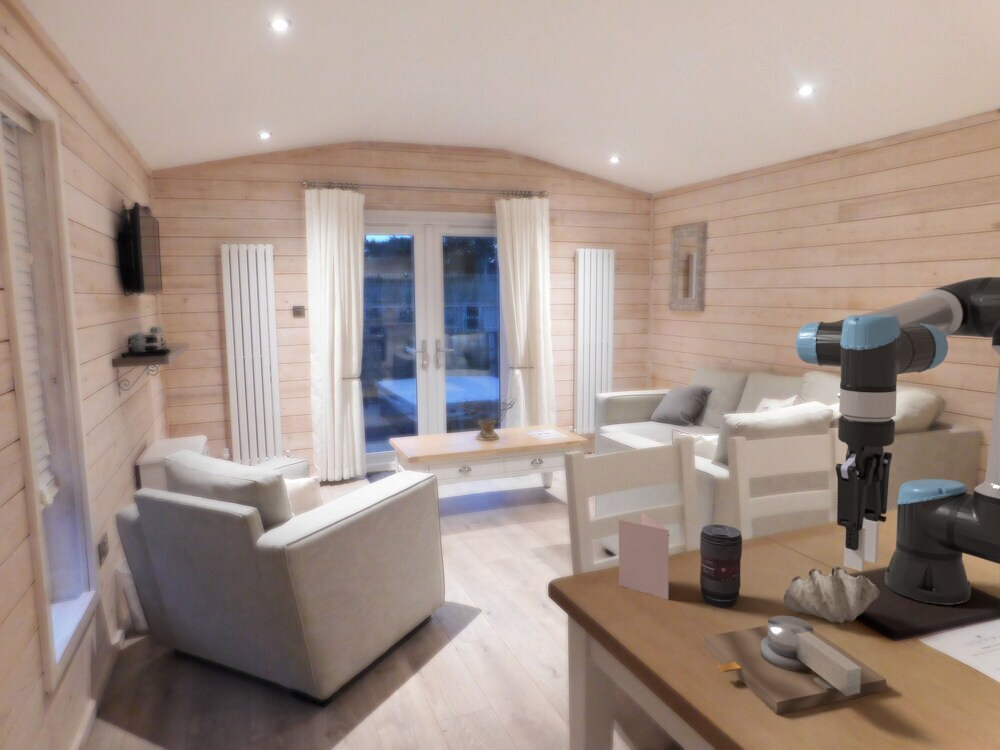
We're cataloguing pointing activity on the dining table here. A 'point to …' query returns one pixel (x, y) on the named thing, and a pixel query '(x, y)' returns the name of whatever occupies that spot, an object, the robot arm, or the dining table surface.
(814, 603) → the seashell
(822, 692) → the mount
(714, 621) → the dining table surface
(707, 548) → the camera lens
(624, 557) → the greeting card
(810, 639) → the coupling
